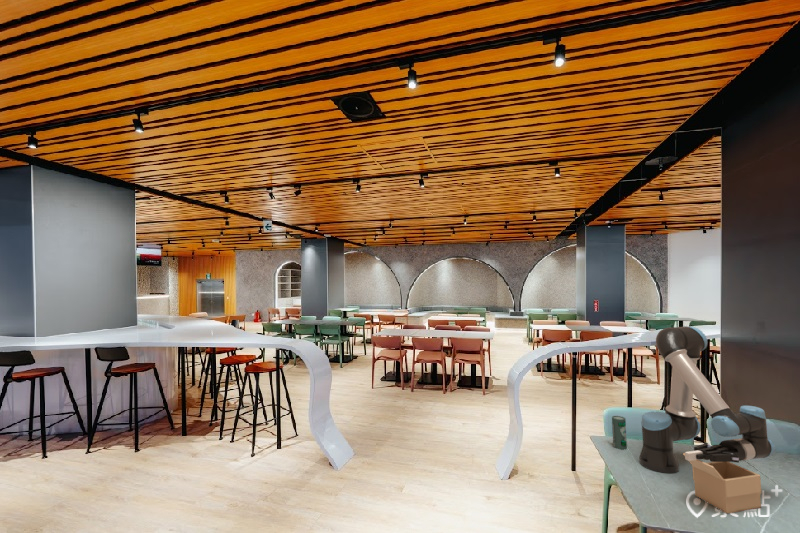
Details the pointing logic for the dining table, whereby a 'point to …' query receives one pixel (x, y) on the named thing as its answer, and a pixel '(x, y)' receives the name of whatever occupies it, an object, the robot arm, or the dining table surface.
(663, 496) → the dining table surface
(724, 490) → the carton
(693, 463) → the flap
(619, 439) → the can
